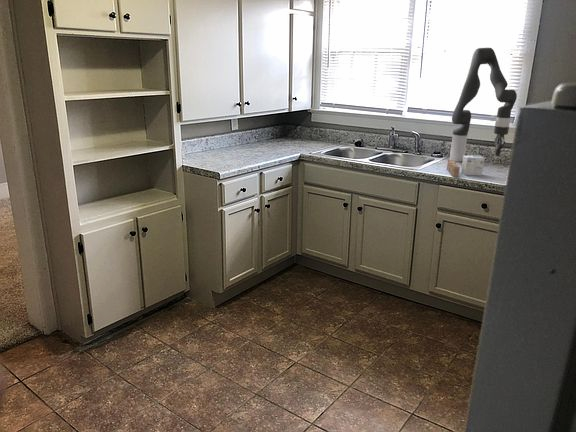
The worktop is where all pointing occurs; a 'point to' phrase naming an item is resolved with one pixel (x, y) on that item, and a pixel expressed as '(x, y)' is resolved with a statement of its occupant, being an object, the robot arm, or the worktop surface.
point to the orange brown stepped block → (453, 168)
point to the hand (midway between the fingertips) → (497, 155)
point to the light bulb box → (472, 165)
